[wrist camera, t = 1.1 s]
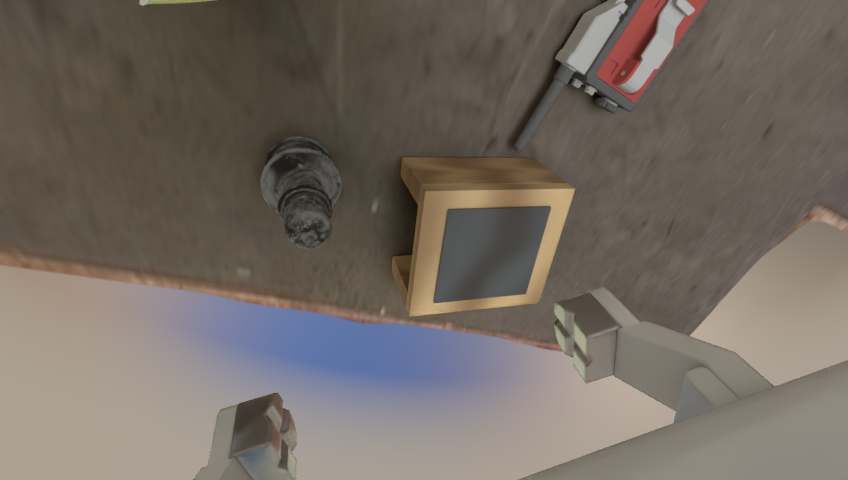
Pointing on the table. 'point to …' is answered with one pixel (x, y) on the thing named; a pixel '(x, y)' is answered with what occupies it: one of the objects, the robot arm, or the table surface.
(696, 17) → the walkie-talkie
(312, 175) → the chess piece
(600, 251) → the table surface
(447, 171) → the stand
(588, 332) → the robot arm
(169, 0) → the tube
